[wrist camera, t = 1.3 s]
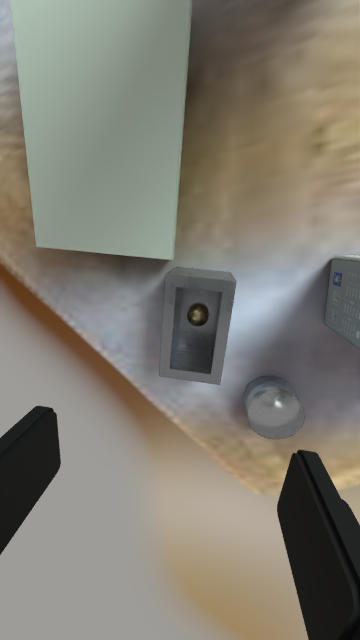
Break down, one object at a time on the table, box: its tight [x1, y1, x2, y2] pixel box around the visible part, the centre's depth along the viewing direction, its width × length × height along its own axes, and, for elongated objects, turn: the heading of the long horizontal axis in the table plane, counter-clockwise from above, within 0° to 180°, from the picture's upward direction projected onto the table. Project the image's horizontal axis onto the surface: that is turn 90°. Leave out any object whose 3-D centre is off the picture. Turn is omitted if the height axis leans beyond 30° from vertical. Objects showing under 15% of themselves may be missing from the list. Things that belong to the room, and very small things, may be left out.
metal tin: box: [244, 376, 305, 439], centre depth 28 cm, size 6×6×4 cm
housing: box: [159, 267, 237, 385], centre depth 24 cm, size 10×6×7 cm, turn 175°
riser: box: [10, 0, 193, 260], centre depth 22 cm, size 20×14×4 cm
